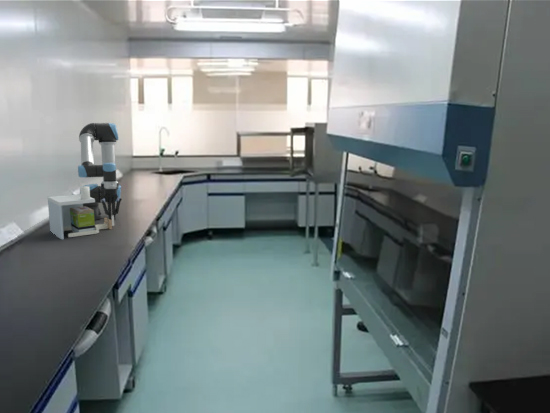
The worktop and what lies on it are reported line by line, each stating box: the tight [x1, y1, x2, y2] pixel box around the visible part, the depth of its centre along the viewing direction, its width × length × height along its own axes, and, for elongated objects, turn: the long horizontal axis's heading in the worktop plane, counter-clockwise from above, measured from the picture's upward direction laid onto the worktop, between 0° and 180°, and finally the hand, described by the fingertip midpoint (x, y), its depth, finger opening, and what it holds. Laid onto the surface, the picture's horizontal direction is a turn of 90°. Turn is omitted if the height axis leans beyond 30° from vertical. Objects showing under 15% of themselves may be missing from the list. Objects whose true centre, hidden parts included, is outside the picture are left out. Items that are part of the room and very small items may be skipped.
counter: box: [47, 193, 95, 240], centre depth 302 cm, size 24×20×22 cm
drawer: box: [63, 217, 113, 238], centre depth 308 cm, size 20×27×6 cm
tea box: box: [70, 206, 96, 233], centre depth 305 cm, size 15×10×15 cm, turn 38°
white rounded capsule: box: [79, 185, 90, 199], centre depth 297 cm, size 5×5×7 cm
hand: (112, 225), depth 318 cm, fingers closed
